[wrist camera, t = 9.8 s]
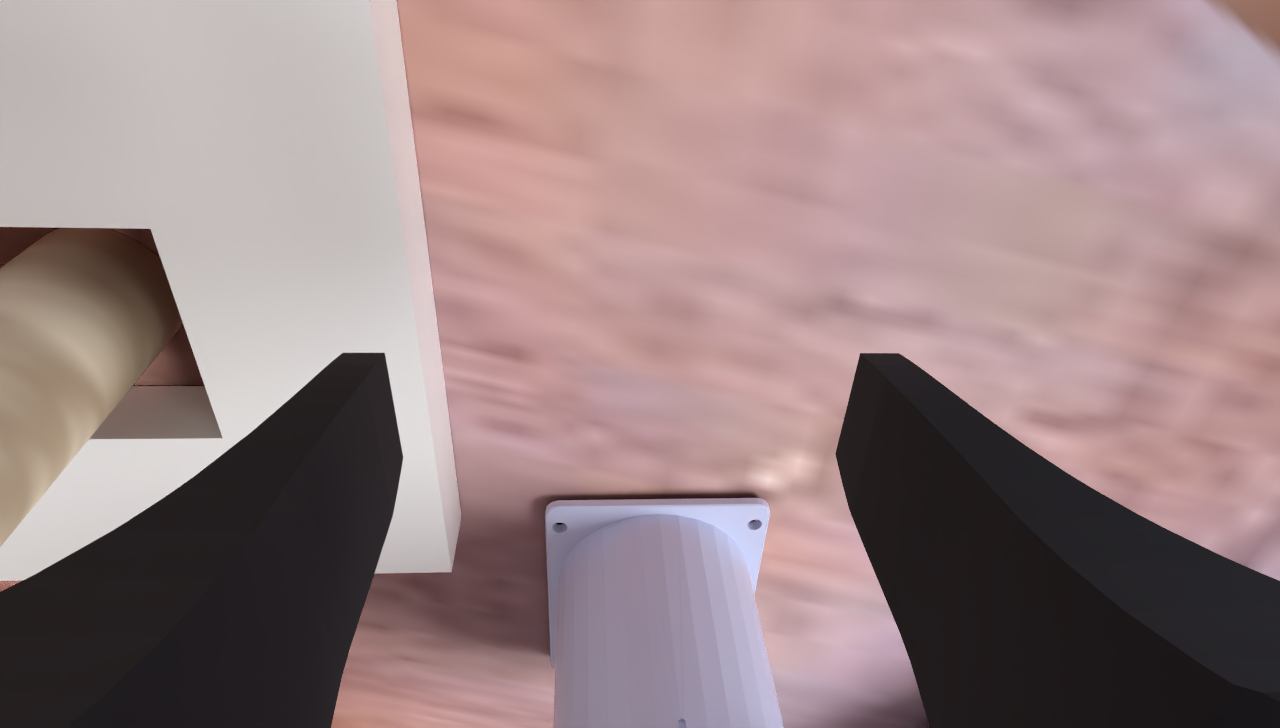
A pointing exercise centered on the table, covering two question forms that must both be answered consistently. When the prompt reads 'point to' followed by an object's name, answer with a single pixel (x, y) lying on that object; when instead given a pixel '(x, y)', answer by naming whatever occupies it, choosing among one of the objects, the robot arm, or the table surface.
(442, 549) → the socket
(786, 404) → the table surface
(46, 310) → the peg
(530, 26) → the table surface
